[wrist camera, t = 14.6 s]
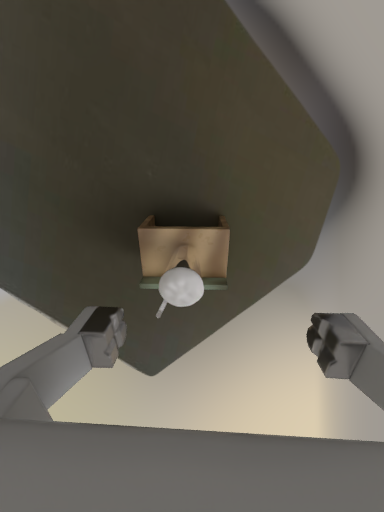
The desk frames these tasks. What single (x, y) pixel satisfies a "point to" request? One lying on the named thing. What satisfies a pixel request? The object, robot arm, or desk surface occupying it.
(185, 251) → the milkshake
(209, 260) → the bench
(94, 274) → the desk surface
